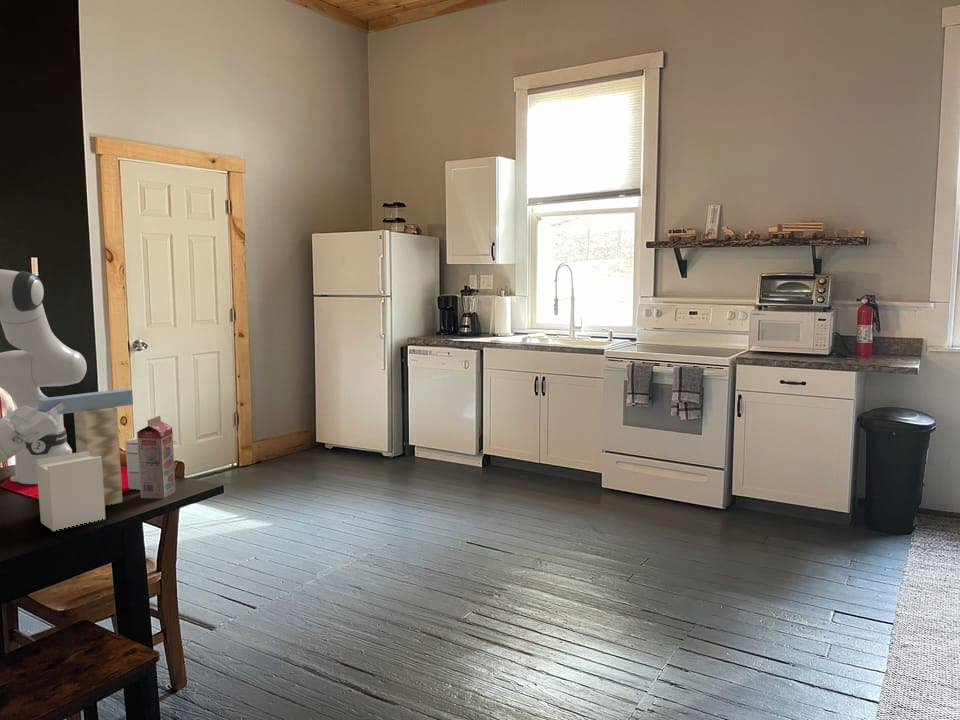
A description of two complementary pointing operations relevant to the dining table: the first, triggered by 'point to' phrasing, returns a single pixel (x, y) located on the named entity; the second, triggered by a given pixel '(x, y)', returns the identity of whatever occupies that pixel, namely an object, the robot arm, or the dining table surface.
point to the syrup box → (133, 463)
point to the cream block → (70, 490)
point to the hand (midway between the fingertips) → (58, 403)
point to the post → (102, 447)
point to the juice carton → (156, 459)
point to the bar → (88, 401)
